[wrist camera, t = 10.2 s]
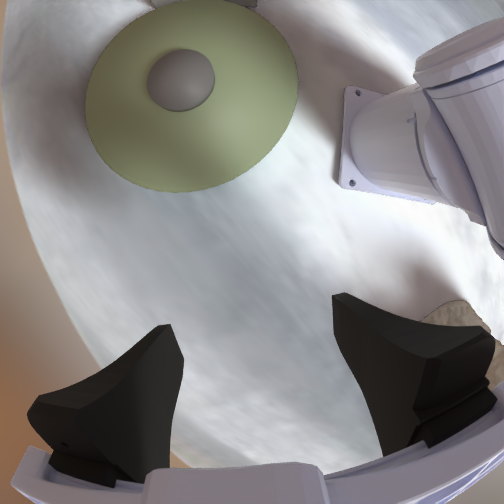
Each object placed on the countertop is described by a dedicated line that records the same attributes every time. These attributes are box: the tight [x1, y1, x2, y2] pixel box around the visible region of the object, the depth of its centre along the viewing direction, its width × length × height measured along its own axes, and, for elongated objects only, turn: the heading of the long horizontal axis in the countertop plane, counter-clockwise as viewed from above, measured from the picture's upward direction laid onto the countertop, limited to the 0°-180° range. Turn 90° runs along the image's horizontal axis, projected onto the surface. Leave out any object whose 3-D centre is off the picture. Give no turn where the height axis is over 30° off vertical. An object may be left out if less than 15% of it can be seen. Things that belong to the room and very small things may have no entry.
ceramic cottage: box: [419, 301, 504, 392], centre depth 19 cm, size 16×16×15 cm
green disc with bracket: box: [85, 0, 298, 193], centre depth 13 cm, size 14×26×4 cm, turn 175°
